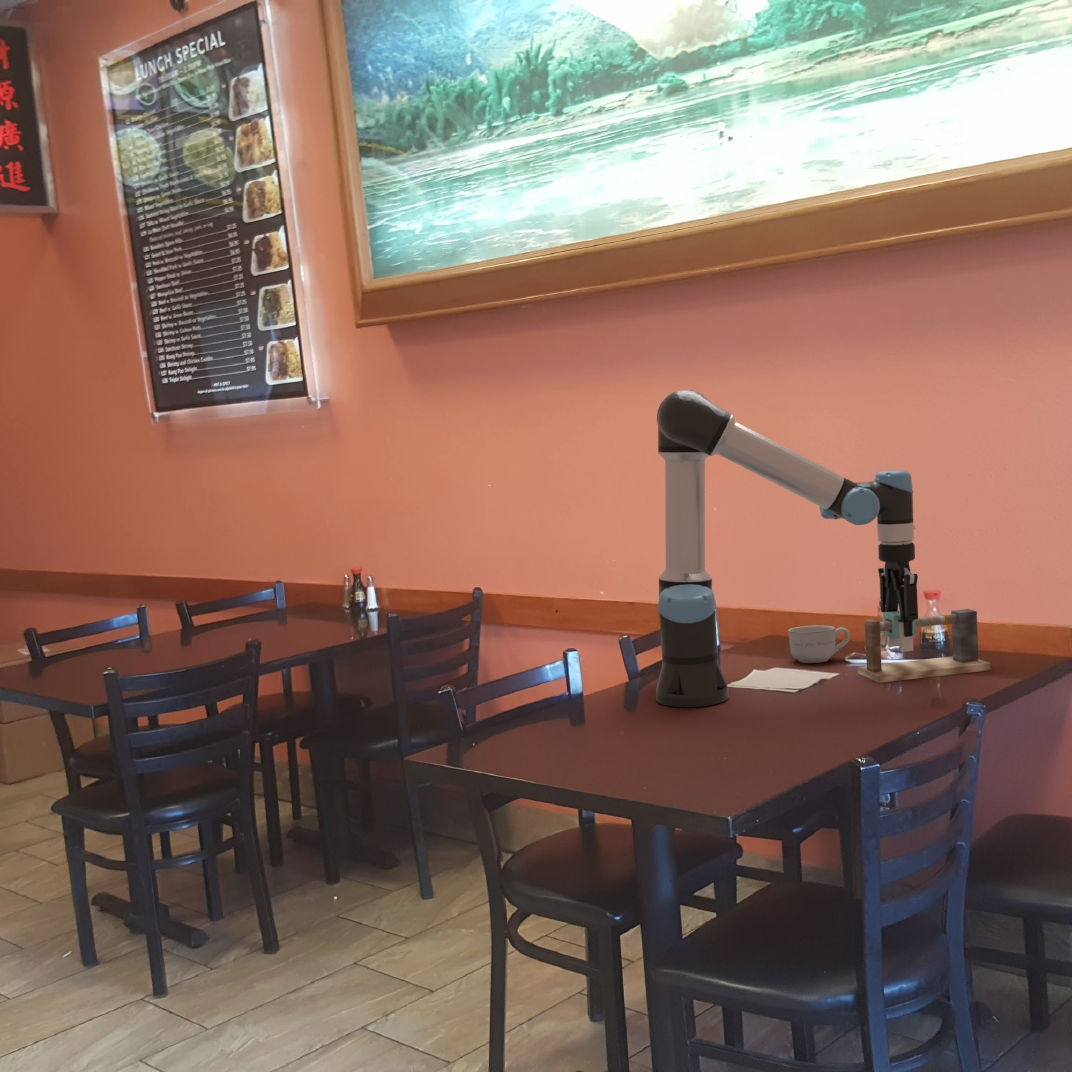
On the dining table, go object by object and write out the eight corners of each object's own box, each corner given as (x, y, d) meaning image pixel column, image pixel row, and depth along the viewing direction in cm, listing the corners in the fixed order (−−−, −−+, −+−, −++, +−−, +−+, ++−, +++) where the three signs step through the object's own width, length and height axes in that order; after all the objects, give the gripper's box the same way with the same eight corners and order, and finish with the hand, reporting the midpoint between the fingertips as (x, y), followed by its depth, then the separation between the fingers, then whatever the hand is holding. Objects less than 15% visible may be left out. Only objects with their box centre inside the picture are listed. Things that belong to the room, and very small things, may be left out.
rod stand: (878, 682, 255) (876, 624, 253) (858, 673, 264) (855, 617, 263) (990, 670, 259) (989, 613, 258) (966, 661, 269) (964, 606, 268)
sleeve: (894, 639, 257) (893, 616, 257) (883, 635, 262) (883, 612, 262) (916, 636, 258) (915, 613, 257) (905, 632, 263) (904, 610, 262)
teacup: (787, 666, 277) (785, 632, 276) (791, 656, 287) (790, 623, 286) (849, 666, 273) (848, 631, 272) (851, 656, 283) (850, 622, 282)
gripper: (933, 544, 250) (937, 654, 252) (892, 537, 267) (897, 639, 270) (899, 547, 248) (904, 658, 251) (861, 540, 266) (865, 643, 268)
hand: (900, 648), depth 260 cm, fingers closed on sleeve, 5 cm apart
